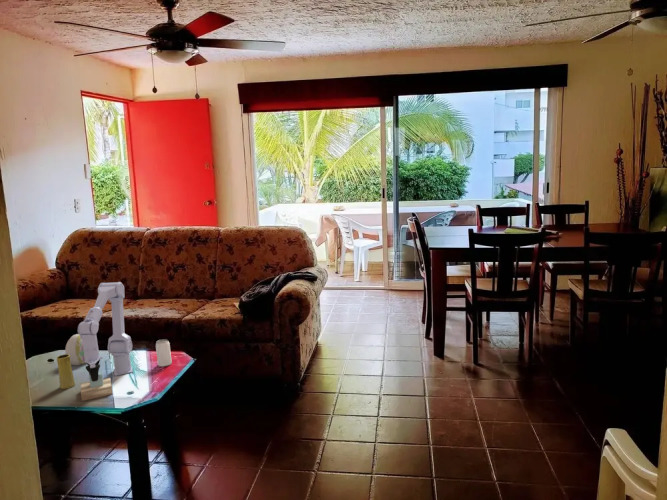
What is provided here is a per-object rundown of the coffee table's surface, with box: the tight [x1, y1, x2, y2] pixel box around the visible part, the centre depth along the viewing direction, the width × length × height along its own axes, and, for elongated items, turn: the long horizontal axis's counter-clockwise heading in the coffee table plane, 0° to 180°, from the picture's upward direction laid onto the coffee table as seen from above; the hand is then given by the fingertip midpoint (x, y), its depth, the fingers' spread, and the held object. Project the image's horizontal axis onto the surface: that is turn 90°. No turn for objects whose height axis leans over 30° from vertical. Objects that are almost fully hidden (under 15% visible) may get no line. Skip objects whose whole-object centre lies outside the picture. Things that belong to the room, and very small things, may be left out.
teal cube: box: [88, 370, 104, 388], centre depth 227 cm, size 5×5×5 cm
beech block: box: [80, 377, 113, 402], centre depth 228 cm, size 12×12×4 cm
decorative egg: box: [64, 333, 87, 366], centre depth 267 cm, size 12×12×15 cm
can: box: [155, 338, 173, 368], centre depth 256 cm, size 6×6×12 cm
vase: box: [56, 354, 76, 390], centre depth 236 cm, size 6×6×14 cm
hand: (95, 378), depth 227 cm, fingers open, 6 cm apart
